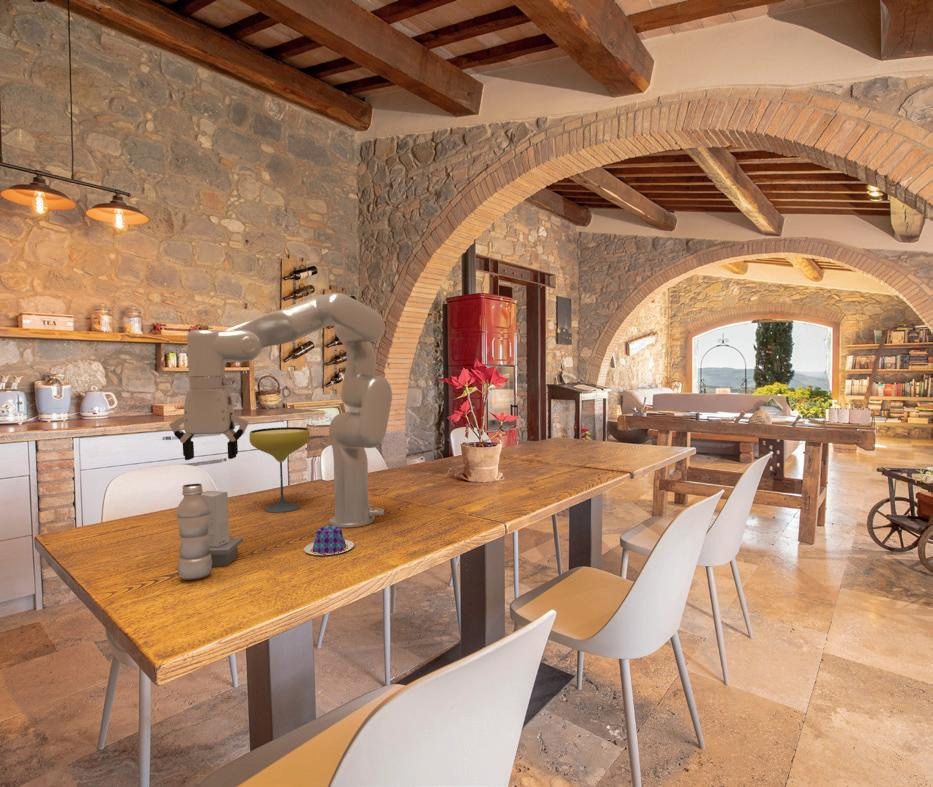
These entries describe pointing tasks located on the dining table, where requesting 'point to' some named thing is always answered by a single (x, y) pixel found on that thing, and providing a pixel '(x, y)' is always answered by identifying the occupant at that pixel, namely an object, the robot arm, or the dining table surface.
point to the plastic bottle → (194, 533)
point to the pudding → (328, 541)
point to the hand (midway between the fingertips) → (211, 458)
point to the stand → (225, 552)
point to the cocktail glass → (280, 452)
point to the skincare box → (218, 518)
